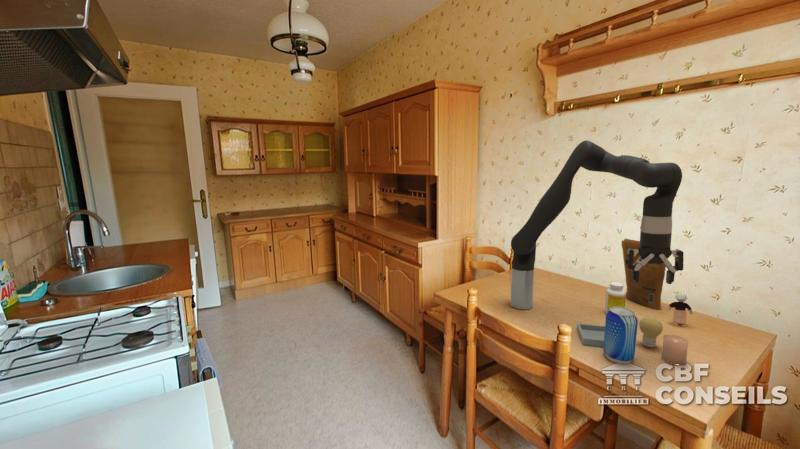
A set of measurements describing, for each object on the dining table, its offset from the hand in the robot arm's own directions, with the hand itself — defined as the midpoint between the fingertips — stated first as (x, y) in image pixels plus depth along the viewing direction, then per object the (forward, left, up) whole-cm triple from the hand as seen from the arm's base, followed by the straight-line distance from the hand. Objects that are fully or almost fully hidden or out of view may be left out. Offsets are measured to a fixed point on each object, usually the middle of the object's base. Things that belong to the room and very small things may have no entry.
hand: (652, 282), depth 105 cm
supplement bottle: (0, +34, -25) cm, 42 cm away
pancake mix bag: (+14, +49, -25) cm, 57 cm away
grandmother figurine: (+20, +29, -25) cm, 43 cm away
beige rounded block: (+8, +1, -25) cm, 26 cm away
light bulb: (+4, +9, -25) cm, 27 cm away
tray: (-11, +10, -25) cm, 29 cm away
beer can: (-8, -2, -25) cm, 27 cm away
